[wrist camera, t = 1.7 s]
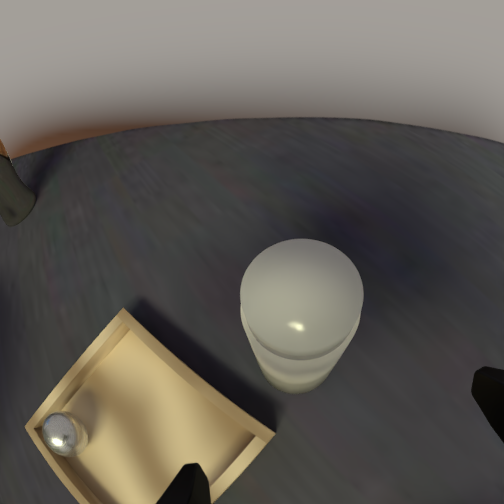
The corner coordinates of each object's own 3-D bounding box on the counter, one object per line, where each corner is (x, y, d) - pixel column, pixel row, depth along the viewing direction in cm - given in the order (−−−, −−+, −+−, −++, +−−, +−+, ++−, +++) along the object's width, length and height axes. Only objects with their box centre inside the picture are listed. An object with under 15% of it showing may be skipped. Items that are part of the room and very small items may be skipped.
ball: (81, 466, 16) (51, 466, 13) (55, 432, 18) (26, 427, 15) (105, 438, 18) (77, 435, 15) (78, 405, 19) (49, 396, 16)
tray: (153, 556, 13) (142, 564, 11) (39, 429, 18) (24, 426, 17) (276, 433, 18) (274, 433, 16) (134, 317, 23) (123, 307, 22)
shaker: (304, 408, 19) (322, 383, 9) (245, 367, 21) (207, 305, 11) (345, 349, 20) (389, 273, 11) (287, 313, 22) (284, 216, 13)
